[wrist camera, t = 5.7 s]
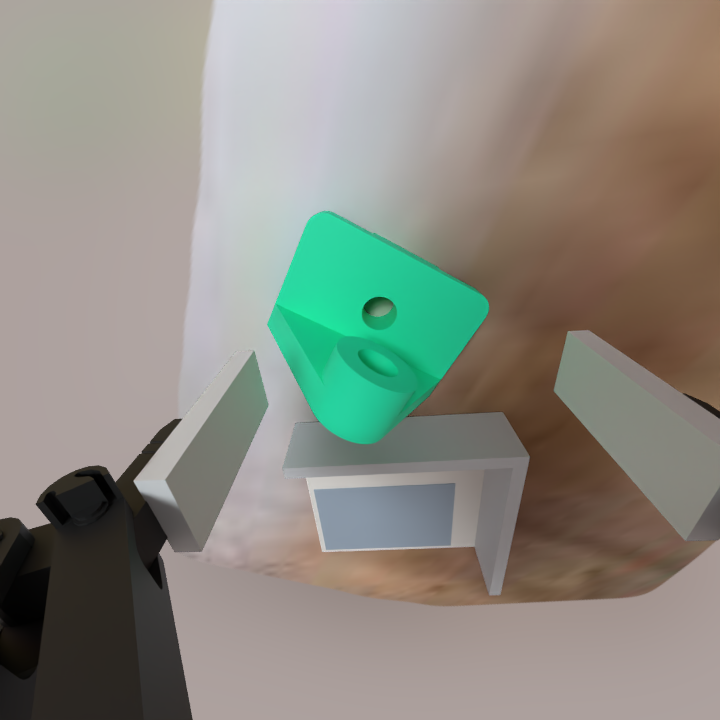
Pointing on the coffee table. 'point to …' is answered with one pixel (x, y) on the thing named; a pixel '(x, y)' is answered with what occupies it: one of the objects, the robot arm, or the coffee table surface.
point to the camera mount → (368, 327)
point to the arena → (417, 486)
